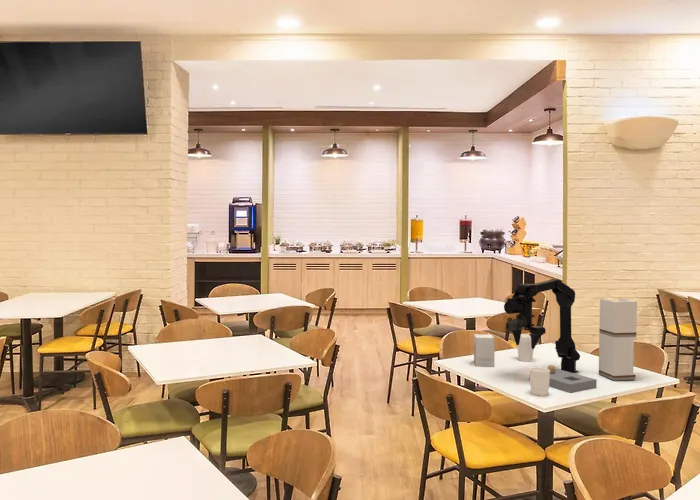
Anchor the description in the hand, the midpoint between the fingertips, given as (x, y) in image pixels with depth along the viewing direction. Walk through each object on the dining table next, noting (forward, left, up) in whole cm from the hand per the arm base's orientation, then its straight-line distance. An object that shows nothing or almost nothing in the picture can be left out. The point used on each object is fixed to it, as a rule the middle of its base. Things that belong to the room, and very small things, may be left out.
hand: (525, 346), depth 257 cm
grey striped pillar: (-40, +17, -15) cm, 46 cm away
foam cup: (-26, -25, -15) cm, 39 cm away
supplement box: (0, -27, -15) cm, 31 cm away
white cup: (+12, +20, -15) cm, 28 cm away
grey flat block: (-8, +14, -14) cm, 22 cm away
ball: (-8, +8, -9) cm, 15 cm away
